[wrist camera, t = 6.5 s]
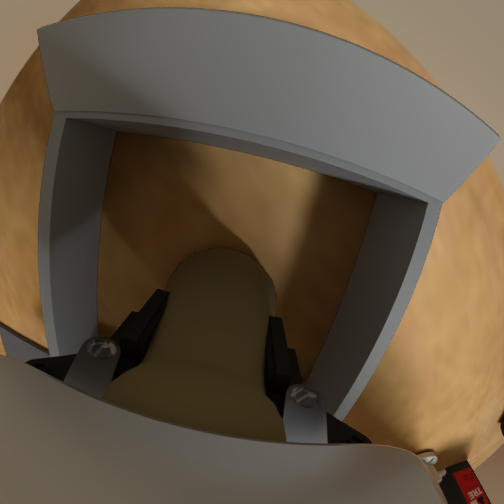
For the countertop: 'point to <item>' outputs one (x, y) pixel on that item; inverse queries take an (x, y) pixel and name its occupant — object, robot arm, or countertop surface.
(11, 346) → the rubber mat
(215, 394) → the cork
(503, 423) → the mate gourd
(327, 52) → the carton
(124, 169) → the countertop surface
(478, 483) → the cleaning product box
